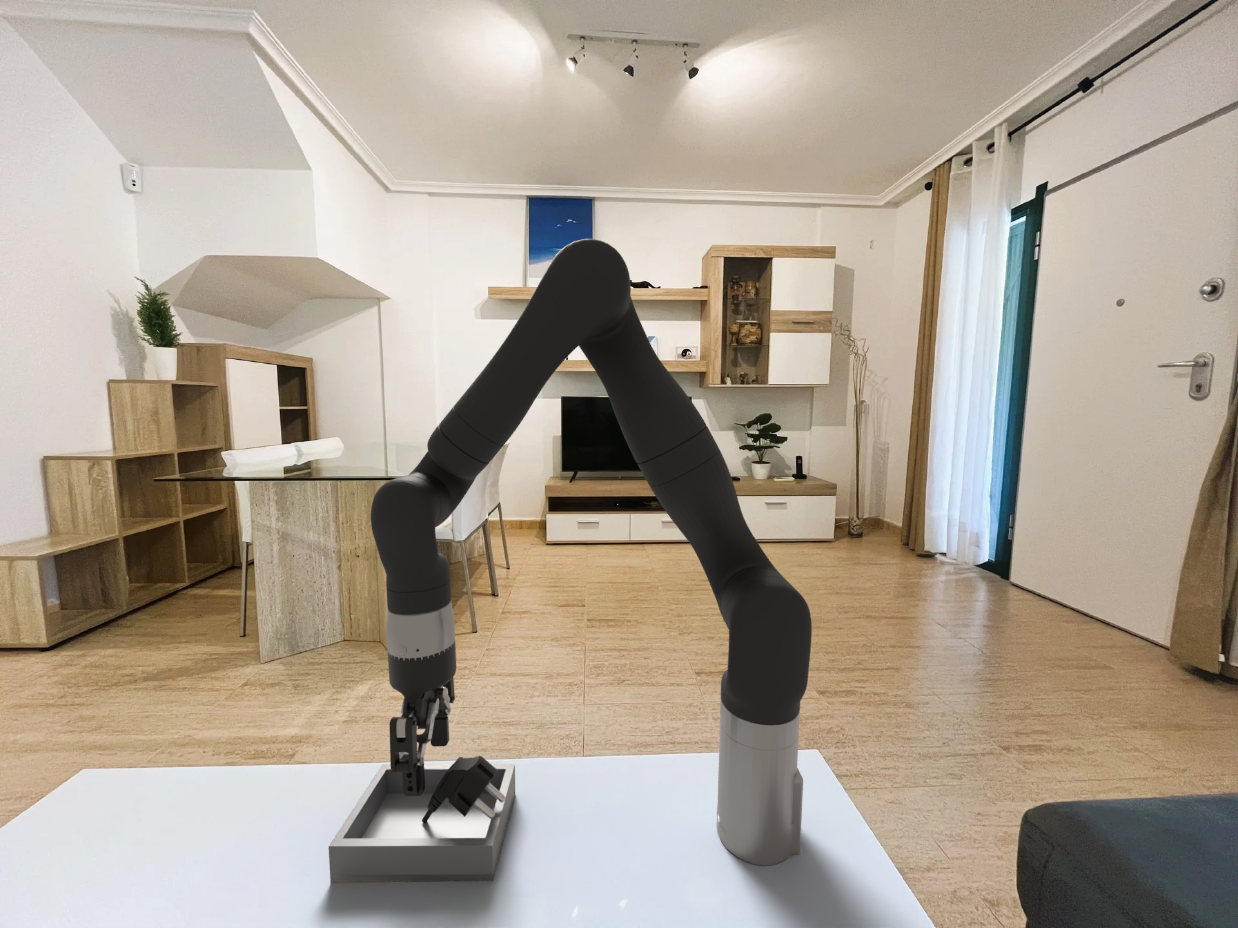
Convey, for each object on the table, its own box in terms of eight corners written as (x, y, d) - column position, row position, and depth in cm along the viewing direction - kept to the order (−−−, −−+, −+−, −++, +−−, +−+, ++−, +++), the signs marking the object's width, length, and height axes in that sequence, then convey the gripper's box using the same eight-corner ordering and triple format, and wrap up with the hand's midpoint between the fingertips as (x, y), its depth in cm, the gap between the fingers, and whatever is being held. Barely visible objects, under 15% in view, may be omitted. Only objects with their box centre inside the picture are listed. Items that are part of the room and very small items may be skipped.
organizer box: (515, 794, 69) (514, 763, 69) (493, 882, 56) (492, 845, 56) (383, 794, 69) (382, 763, 68) (330, 883, 56) (328, 846, 55)
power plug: (433, 799, 66) (474, 735, 63) (477, 839, 64) (521, 776, 62) (404, 833, 60) (447, 765, 58) (451, 877, 59) (497, 810, 56)
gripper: (432, 670, 53) (439, 812, 54) (470, 615, 67) (474, 730, 69) (360, 671, 53) (369, 814, 54) (413, 616, 67) (419, 731, 69)
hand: (428, 767), depth 61 cm, fingers open, 8 cm apart
